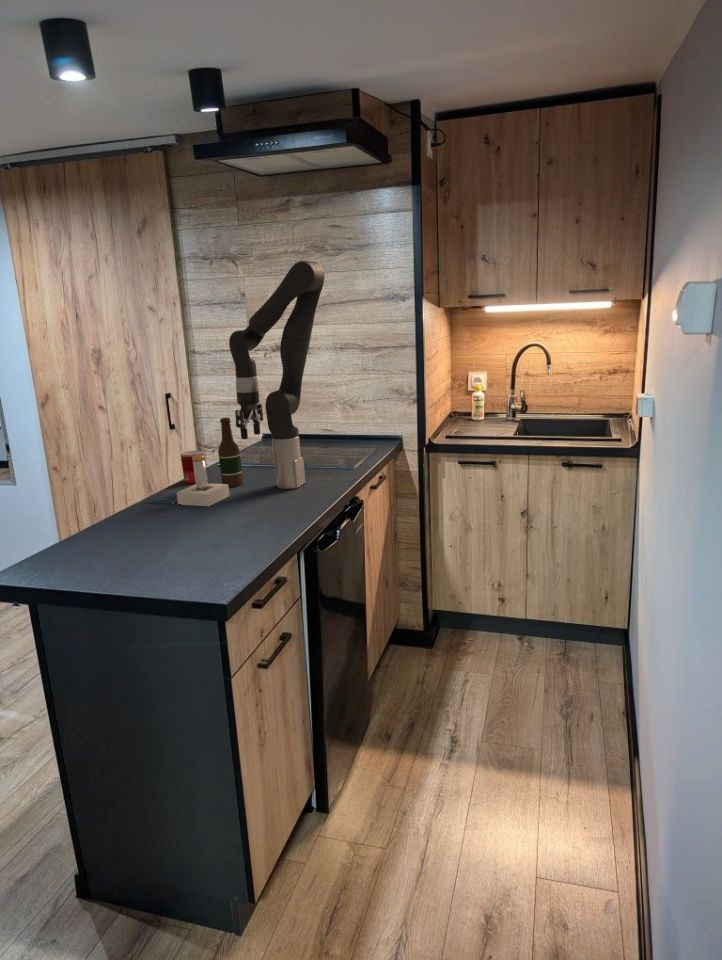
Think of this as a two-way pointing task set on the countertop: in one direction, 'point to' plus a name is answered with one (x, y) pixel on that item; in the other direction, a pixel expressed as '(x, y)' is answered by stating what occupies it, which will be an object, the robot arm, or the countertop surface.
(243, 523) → the countertop surface
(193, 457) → the plug
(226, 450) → the beer bottle
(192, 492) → the socket block
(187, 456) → the canned food
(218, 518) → the countertop surface
